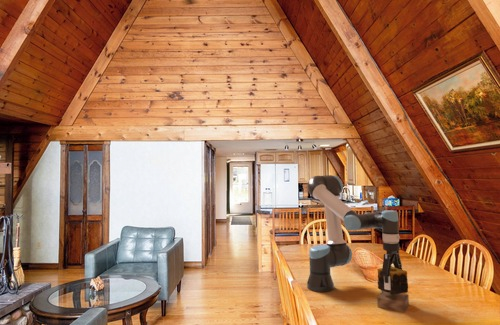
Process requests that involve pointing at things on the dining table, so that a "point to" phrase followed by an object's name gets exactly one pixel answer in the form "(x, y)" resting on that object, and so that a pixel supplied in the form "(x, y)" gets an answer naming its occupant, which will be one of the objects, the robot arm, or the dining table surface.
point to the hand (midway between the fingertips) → (392, 286)
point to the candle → (394, 281)
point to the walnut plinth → (393, 301)
